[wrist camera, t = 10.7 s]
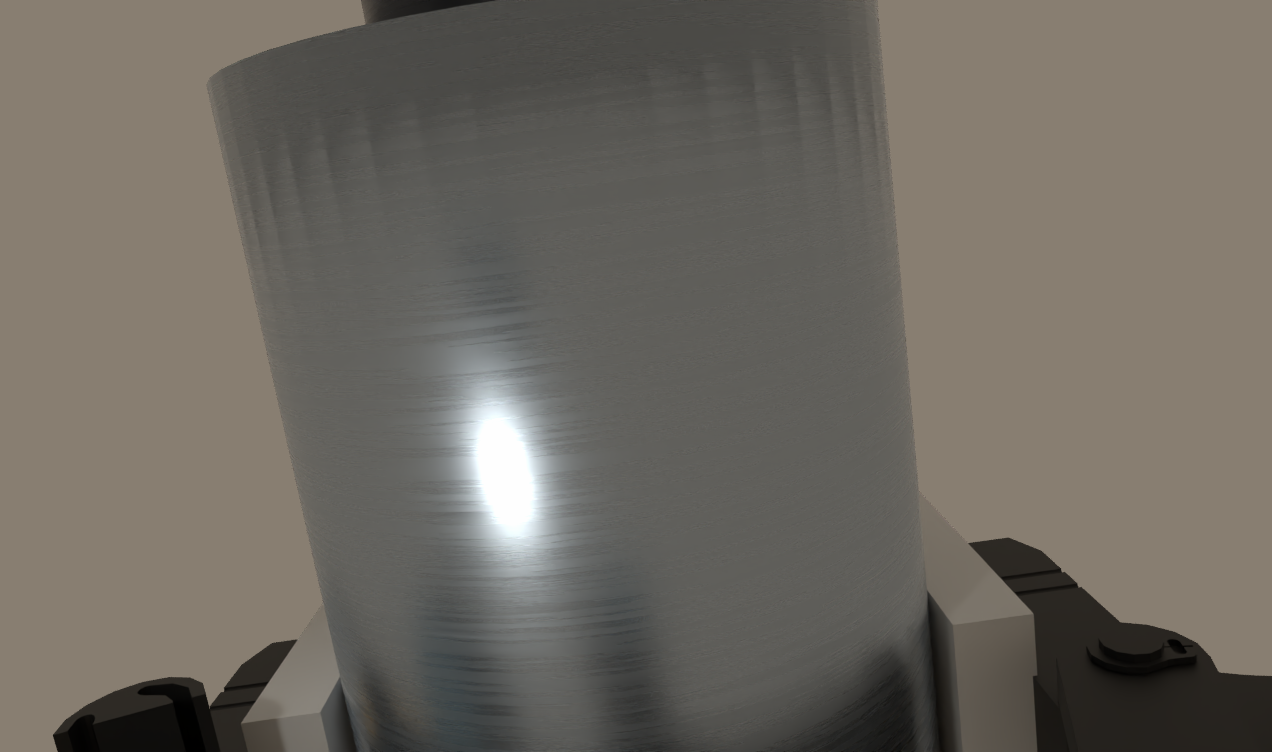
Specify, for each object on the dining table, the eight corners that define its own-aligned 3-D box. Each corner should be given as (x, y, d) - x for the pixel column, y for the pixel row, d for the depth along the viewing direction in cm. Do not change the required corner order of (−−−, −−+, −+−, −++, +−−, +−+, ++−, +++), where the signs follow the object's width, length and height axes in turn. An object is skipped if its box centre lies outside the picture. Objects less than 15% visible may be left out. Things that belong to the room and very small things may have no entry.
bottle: (484, 1751, 10) (-38, -283, 6) (534, 1148, 15) (290, -56, 12) (1092, 1670, 10) (962, -432, 6) (910, 1098, 15) (786, -128, 12)
